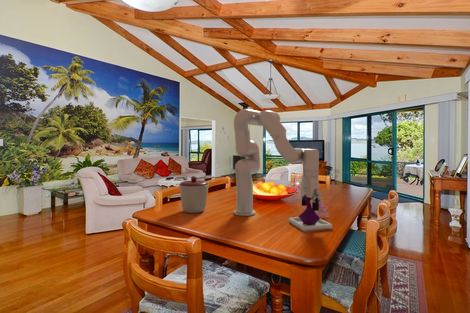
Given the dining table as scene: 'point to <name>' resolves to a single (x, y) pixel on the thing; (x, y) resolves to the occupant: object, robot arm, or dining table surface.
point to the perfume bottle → (309, 214)
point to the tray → (304, 227)
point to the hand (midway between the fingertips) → (309, 208)
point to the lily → (322, 209)
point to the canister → (193, 195)
